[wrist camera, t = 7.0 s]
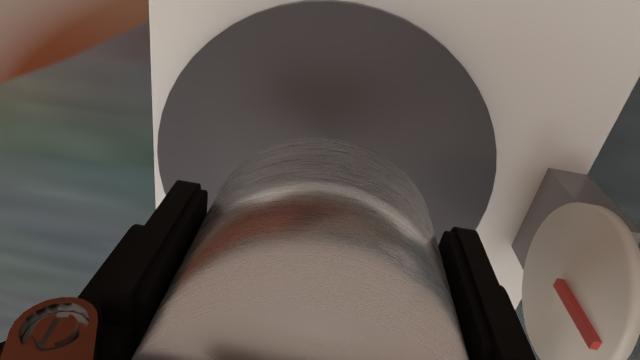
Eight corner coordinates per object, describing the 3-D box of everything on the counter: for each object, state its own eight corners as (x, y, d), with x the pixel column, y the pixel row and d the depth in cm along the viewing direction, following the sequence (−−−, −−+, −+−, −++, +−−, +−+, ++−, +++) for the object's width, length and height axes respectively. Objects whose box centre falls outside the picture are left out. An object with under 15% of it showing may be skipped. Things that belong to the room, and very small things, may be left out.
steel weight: (461, 160, 11) (552, 350, 6) (400, 331, 14) (426, 549, 9) (215, 118, 10) (99, 275, 6) (207, 299, 13) (127, 503, 9)
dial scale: (640, -14, 20) (969, 46, 9) (481, 317, 31) (548, 522, 20) (172, -100, 20) (-46, -140, 9) (175, 266, 31) (77, 447, 20)
